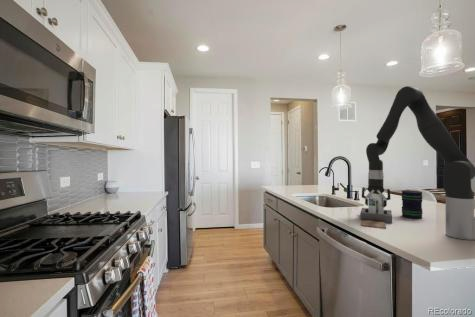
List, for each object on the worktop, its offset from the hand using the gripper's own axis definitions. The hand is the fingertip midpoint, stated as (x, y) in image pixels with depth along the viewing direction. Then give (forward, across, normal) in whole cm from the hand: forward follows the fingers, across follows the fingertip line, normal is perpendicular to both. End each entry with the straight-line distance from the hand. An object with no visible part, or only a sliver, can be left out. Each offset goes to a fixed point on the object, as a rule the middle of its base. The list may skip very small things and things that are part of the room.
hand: (375, 206), depth 137 cm
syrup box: (+7, 0, 0) cm, 7 cm away
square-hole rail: (+7, 0, 0) cm, 7 cm away
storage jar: (+7, +18, +14) cm, 24 cm away
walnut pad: (+7, -1, -15) cm, 17 cm away
